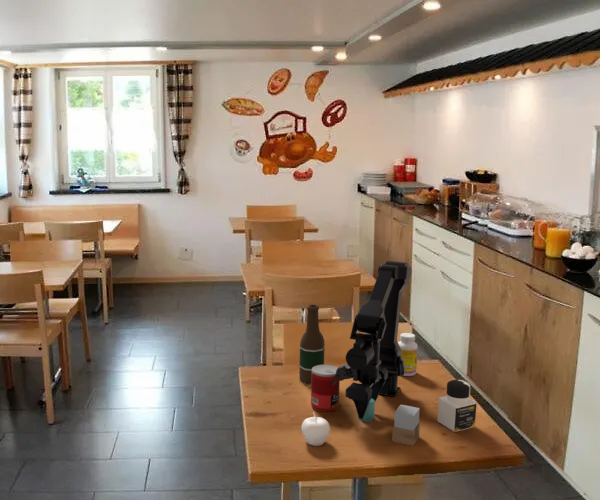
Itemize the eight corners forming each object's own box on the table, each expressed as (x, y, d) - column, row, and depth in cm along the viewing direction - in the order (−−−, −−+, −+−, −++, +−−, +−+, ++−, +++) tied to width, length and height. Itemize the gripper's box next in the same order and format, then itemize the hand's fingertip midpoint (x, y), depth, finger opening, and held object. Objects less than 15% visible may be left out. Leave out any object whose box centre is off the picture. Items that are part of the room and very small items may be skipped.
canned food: (336, 413, 180) (337, 375, 178) (308, 410, 181) (309, 373, 179) (340, 402, 187) (341, 365, 185) (313, 399, 189) (314, 363, 186)
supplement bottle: (417, 377, 206) (419, 338, 204) (396, 376, 207) (398, 338, 204) (415, 369, 213) (417, 332, 210) (394, 368, 213) (396, 331, 211)
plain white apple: (309, 433, 168) (310, 404, 166) (334, 440, 164) (335, 411, 163) (295, 444, 162) (296, 414, 160) (320, 452, 158) (321, 421, 157)
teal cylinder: (361, 413, 180) (361, 396, 179) (376, 416, 178) (377, 399, 177) (355, 419, 176) (356, 402, 175) (371, 422, 174) (371, 405, 173)
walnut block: (398, 432, 169) (399, 418, 168) (419, 437, 167) (419, 422, 166) (392, 441, 164) (392, 426, 164) (413, 446, 162) (414, 431, 161)
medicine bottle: (454, 432, 169) (457, 389, 167) (436, 421, 176) (439, 379, 173) (475, 427, 173) (478, 384, 170) (457, 416, 179) (460, 375, 177)
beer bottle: (308, 373, 208) (310, 300, 204) (328, 379, 204) (330, 305, 199) (294, 380, 202) (295, 306, 197) (314, 386, 198) (316, 310, 193)
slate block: (399, 418, 168) (400, 404, 167) (418, 422, 166) (419, 408, 165) (394, 426, 164) (394, 411, 163) (413, 430, 162) (414, 415, 161)
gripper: (352, 342, 185) (350, 393, 188) (327, 363, 169) (326, 419, 172) (389, 348, 181) (387, 401, 184) (368, 370, 164) (366, 428, 167)
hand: (366, 411), depth 177 cm, fingers open, 9 cm apart
